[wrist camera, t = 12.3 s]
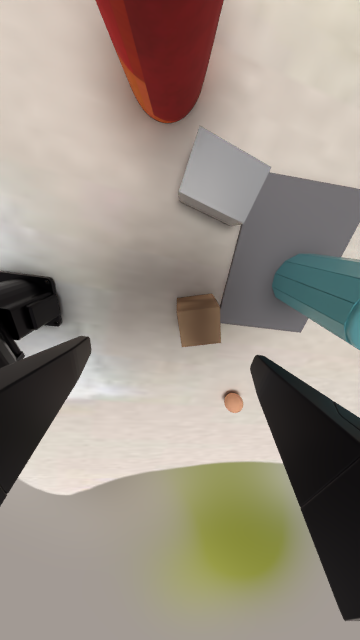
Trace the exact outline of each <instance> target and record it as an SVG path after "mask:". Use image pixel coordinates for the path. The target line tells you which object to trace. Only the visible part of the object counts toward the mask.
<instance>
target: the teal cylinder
mask: <svg viewBox="0 0 360 640" xmlns="http://www.w3.org/2000/svg"><path fill="white" fill-rule="evenodd" d="M272 288H273V291H274V294H275V297H276V298H278V299H279V300H281V301H282V302H284V303H285V304H287V305H289V306H290V307H292V308H293V309H295V310H297V311H298V312H300V313H301V314H303V315H305V316H306V317H308V318H309V319H311V320H313V321H314V322H316V323H317V324H319V325H320V326H322V327H324V328H325V329H327V330H328V331H330V332H332V333H333V334H335V335H336V336H338V337H340V338H341V339H343V340H344V341H346V342H348V343H349V344H351V345H352V346H354V347H355V348H357V349H359V350H360V260H357V259H349V258H342V257H334V256H326V255H319V254H298V255H296V256H294V257H292V258H290V259H288V260H286V261H285V262H284V263H283V264H282V265H281V267H280V268H279V269H278V270H277V271H276V273H275V275H274V279H273V283H272Z"/></svg>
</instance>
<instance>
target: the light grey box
mask: <svg viewBox="0 0 360 640" xmlns="http://www.w3.org/2000/svg"><path fill="white" fill-rule="evenodd" d="M270 169H271V167H270V166H268V165H267V164H265V163H263V162H262V161H260V160H258V159H256V158H255V157H253V156H251V155H250V154H248V153H246V152H244V151H243V150H241V149H239V148H237V147H236V146H234V145H232V144H231V143H229V142H227V141H225V140H224V139H222V138H220V137H219V136H217V135H215V134H213V133H212V132H210V131H208V130H206V129H205V128H203V127H201V126H199V129H198V132H197V136H196V139H195V142H194V145H193V148H192V151H191V154H190V158H189V161H188V164H187V167H186V170H185V173H184V177H183V180H182V183H181V186H180V189H179V201H180V202H182V203H184V204H186V205H188V206H190V207H192V208H195V209H197V210H199V211H201V212H203V213H205V214H207V215H209V216H211V217H213V218H215V219H217V220H219V221H221V222H224V223H226V224H228V225H230V226H234V225H239V224H244V222H245V220H246V218H247V216H248V214H249V212H250V210H251V208H252V206H253V204H254V202H255V200H256V198H257V196H258V193H259V191H260V189H261V187H262V185H263V183H264V181H265V179H266V177H267V175H268V173H269V171H270Z"/></svg>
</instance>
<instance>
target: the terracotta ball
mask: <svg viewBox="0 0 360 640" xmlns="http://www.w3.org/2000/svg"><path fill="white" fill-rule="evenodd" d="M224 402H225V406H226V408H227V409H228V410H229V411H230V412H233V413H237V412H239V411H241V410H242V408H243V401H242V398H241V397H240V396H239V395H238V394H236V393H230V394H228V395H227V396H226V397H225V401H224Z"/></svg>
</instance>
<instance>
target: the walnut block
mask: <svg viewBox="0 0 360 640" xmlns="http://www.w3.org/2000/svg"><path fill="white" fill-rule="evenodd" d="M177 317H178V324H179V331H180V337H181V344H182V347H188V346H197V345H206V344H215V343H221V330H220V306H219V304H218V303H217V301H216V299H215V298H214V296H213V294H205V295H197V296H189V297H181V298H177Z"/></svg>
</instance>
